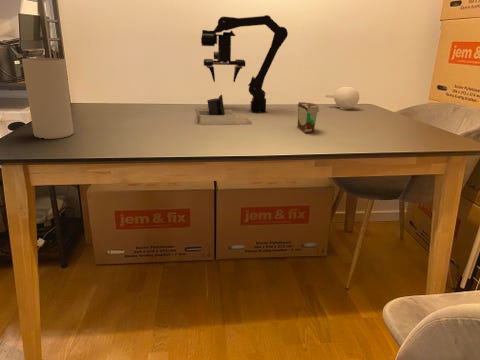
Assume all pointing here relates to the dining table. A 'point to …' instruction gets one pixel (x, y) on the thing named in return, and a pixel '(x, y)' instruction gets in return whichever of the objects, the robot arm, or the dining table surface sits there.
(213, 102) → the speaker
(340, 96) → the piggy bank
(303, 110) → the food container
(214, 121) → the beige shallow tray
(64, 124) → the cylinder vase
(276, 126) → the dining table surface
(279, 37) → the robot arm
